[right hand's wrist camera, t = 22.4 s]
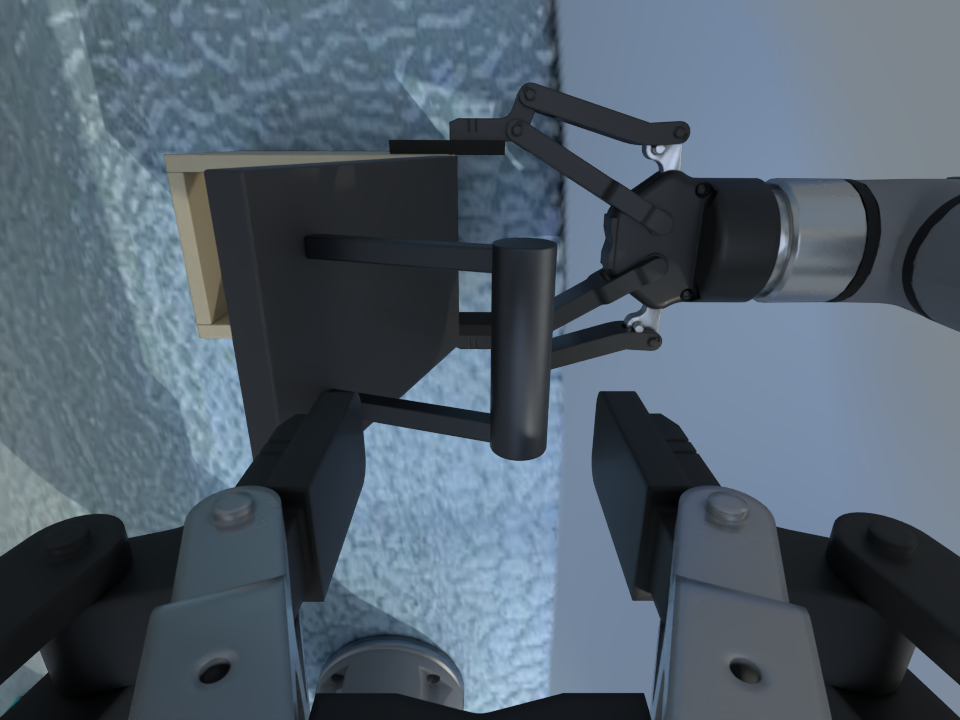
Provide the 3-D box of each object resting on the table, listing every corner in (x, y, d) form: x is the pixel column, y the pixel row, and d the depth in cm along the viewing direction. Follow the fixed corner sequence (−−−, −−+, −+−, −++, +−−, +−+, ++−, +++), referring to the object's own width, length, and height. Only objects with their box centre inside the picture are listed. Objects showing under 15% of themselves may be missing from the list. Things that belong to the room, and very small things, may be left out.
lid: (257, 491, 18) (522, 553, 16) (201, 169, 15) (537, 177, 12) (439, 342, 32) (597, 361, 29) (434, 155, 28) (615, 157, 26)
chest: (266, 291, 43) (198, 338, 32) (245, 150, 39) (162, 154, 29) (457, 291, 43) (450, 339, 32) (455, 151, 39) (446, 155, 29)
